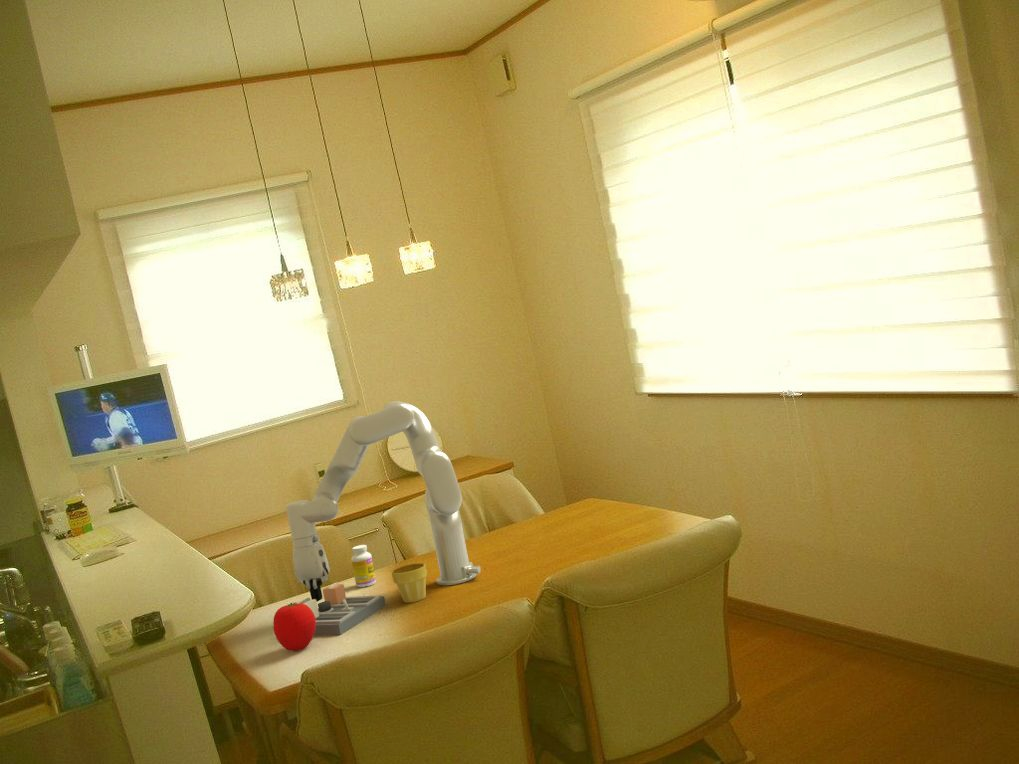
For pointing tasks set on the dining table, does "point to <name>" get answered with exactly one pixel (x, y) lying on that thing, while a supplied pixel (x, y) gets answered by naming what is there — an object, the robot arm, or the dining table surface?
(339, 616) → the grey slotted tray
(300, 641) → the tomato
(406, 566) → the plant pot
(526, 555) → the dining table surface
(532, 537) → the dining table surface
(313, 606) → the cream slider
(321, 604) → the black button
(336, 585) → the salmon pink block
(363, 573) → the supplement bottle
